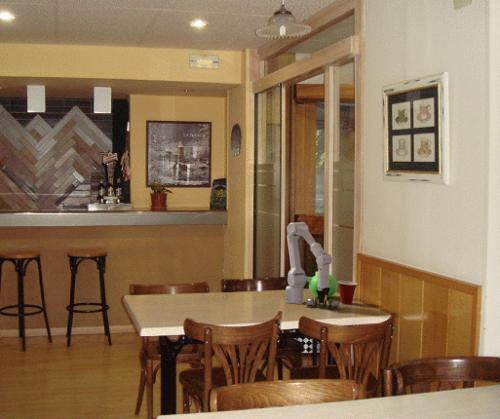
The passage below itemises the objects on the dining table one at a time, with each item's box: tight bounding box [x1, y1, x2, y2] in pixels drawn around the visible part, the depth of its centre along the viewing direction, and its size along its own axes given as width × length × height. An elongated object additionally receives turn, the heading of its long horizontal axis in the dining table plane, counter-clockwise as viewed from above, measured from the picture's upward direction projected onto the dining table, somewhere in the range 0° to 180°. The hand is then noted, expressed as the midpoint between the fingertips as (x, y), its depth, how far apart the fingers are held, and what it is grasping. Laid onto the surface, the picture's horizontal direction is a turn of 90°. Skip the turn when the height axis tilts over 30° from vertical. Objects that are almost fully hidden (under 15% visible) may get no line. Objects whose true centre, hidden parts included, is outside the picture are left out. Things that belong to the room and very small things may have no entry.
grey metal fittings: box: [305, 297, 340, 311], centre depth 384 cm, size 17×6×5 cm, turn 70°
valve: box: [317, 295, 328, 307], centre depth 384 cm, size 4×4×8 cm
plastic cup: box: [337, 280, 358, 305], centre depth 399 cm, size 11×11×12 cm
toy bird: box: [306, 270, 339, 298], centre depth 415 cm, size 18×17×15 cm
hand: (322, 302), depth 384 cm, fingers closed on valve, 4 cm apart
